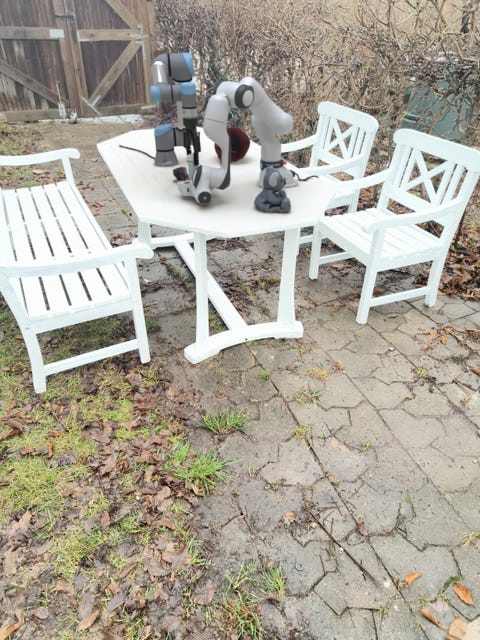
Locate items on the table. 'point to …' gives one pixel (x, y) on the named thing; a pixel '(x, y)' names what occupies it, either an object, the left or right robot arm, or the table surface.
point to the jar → (191, 169)
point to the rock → (181, 174)
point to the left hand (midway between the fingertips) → (193, 163)
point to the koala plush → (273, 193)
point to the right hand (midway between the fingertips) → (193, 180)
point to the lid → (190, 157)
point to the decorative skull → (235, 144)
